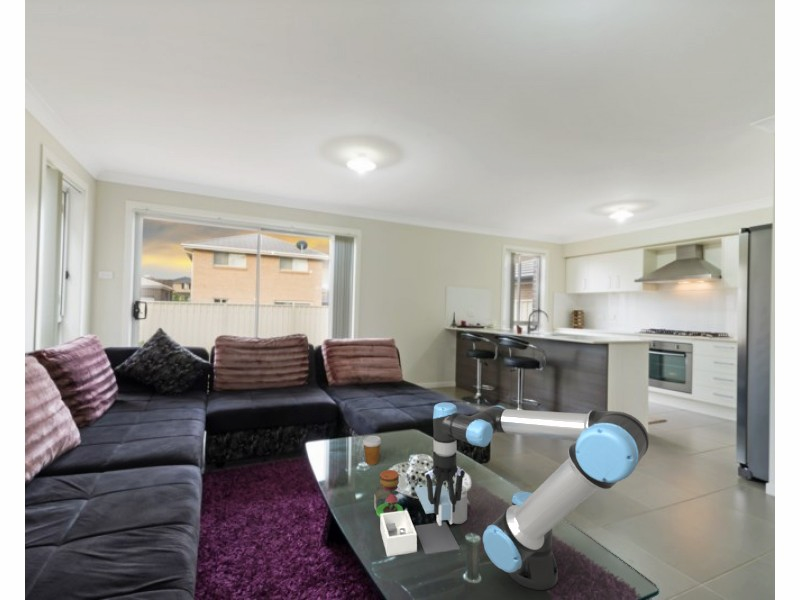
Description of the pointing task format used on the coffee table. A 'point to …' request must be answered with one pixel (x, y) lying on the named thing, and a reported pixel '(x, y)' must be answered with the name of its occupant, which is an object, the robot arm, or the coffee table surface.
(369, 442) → the disposable coffee cup
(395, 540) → the tub
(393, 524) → the parts
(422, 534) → the mat
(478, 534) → the coffee table surface
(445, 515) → the lid
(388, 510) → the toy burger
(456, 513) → the can
